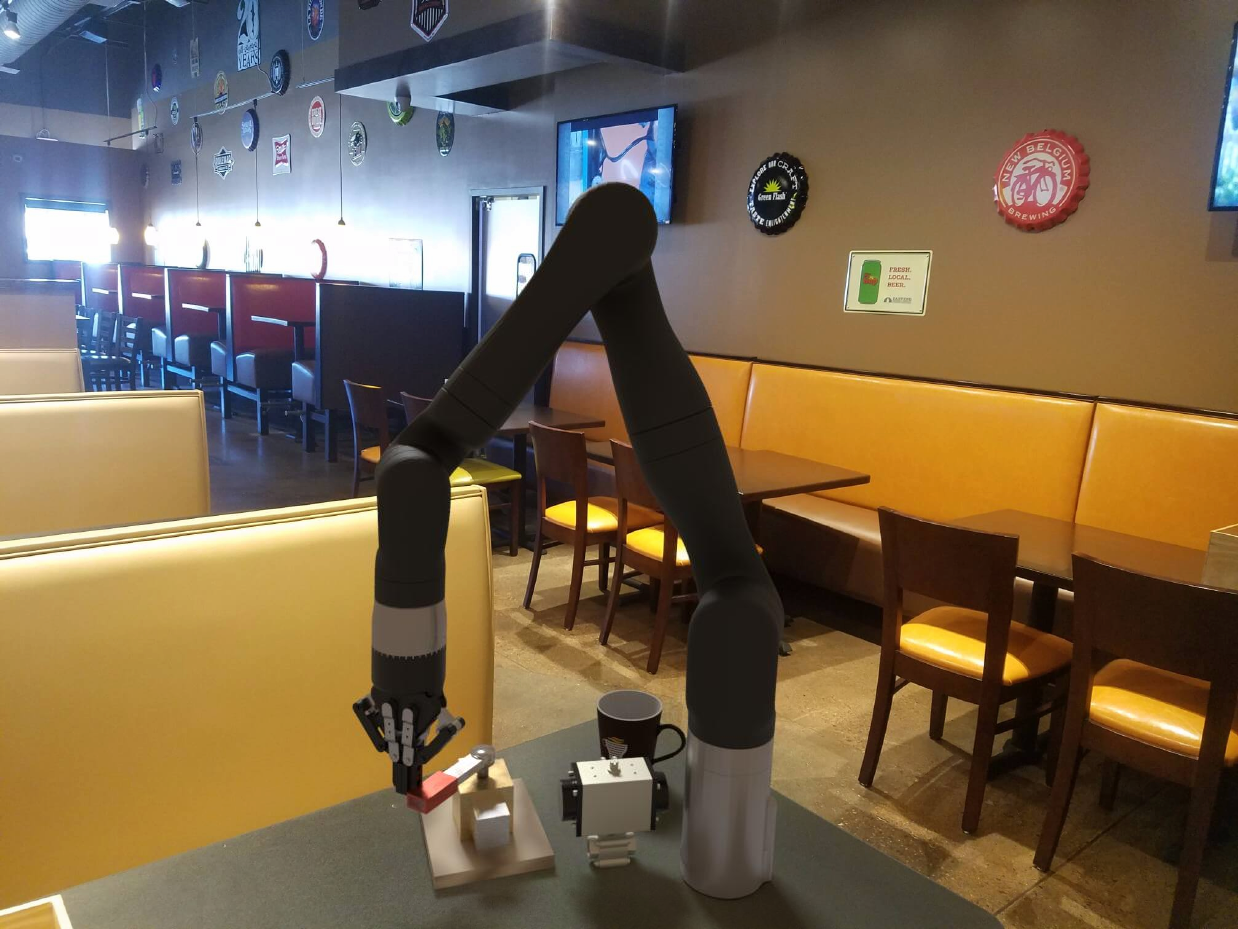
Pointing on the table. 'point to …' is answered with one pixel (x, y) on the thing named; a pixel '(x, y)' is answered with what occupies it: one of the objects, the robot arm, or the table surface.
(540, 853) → the mounting board
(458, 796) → the valve
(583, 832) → the pneumatic valve
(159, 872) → the table surface
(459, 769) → the lever
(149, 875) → the table surface
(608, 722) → the coffee mug
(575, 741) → the table surface
